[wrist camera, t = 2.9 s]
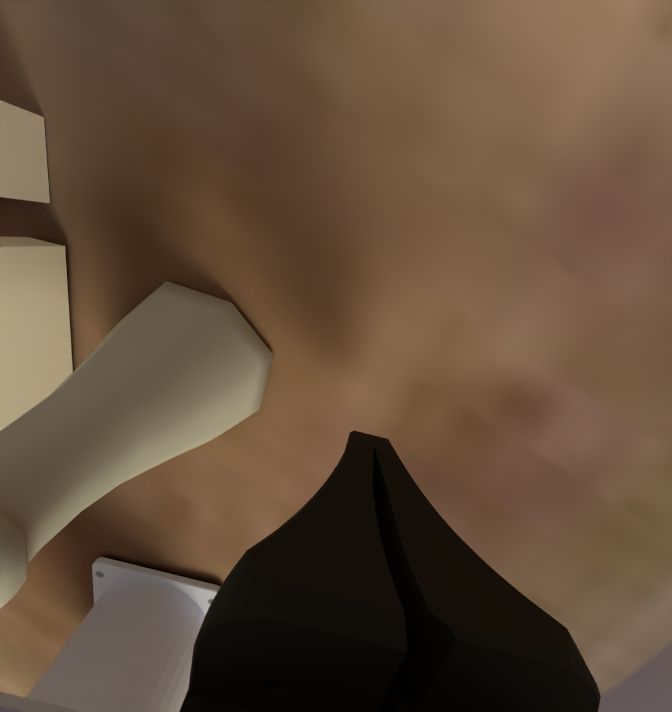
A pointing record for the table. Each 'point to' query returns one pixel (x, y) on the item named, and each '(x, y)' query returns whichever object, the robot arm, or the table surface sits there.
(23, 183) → the gauge frame
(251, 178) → the table surface
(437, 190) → the table surface
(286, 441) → the table surface
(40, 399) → the pad
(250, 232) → the table surface
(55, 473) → the grey vase
